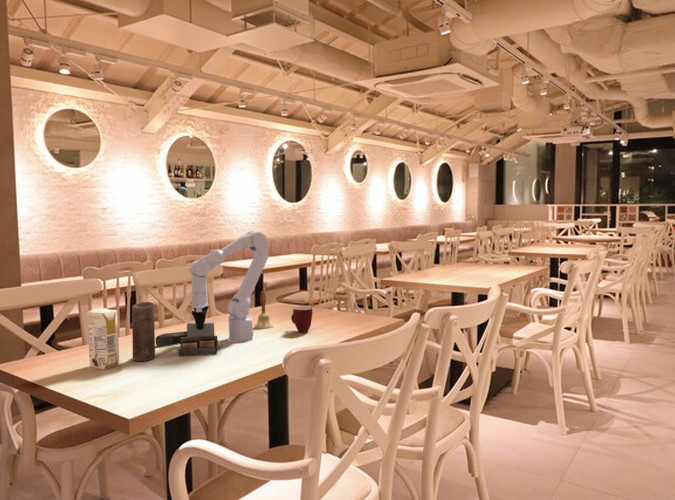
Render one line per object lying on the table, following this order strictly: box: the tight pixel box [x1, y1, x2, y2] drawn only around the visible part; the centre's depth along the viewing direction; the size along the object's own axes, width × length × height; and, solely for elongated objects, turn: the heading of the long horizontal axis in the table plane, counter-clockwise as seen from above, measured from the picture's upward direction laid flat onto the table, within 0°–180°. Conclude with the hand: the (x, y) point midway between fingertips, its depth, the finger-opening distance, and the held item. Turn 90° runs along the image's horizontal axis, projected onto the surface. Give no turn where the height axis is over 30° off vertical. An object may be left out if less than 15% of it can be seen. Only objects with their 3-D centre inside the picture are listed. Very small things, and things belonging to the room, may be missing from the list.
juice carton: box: [87, 307, 120, 371], centre depth 178 cm, size 8×9×19 cm
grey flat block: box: [186, 321, 216, 337], centre depth 204 cm, size 10×2×8 cm, turn 100°
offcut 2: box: [200, 340, 214, 348], centre depth 192 cm, size 5×2×4 cm, turn 100°
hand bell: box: [253, 290, 274, 330], centre depth 235 cm, size 8×8×16 cm
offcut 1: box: [182, 343, 197, 349], centre depth 191 cm, size 5×2×4 cm, turn 100°
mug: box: [291, 305, 313, 334], centre depth 226 cm, size 10×8×10 cm
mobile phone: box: [155, 330, 187, 349], centre depth 205 cm, size 5×3×15 cm
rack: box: [178, 335, 219, 357], centre depth 194 cm, size 13×11×6 cm
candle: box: [131, 301, 156, 363], centre depth 184 cm, size 8×7×20 cm
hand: (200, 327), depth 204 cm, fingers open, 7 cm apart
